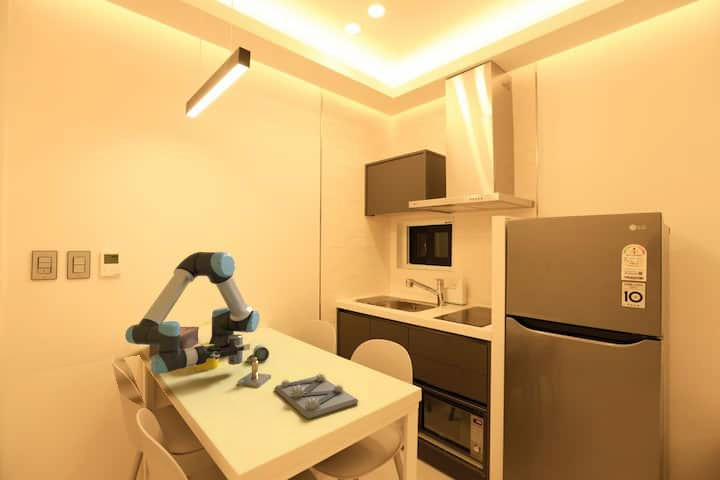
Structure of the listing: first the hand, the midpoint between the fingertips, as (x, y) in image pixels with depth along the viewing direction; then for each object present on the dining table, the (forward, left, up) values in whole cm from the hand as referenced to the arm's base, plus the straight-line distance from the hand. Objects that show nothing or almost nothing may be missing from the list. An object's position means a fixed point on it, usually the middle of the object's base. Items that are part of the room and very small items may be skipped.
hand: (245, 344), depth 158 cm
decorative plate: (+19, +42, -13) cm, 47 cm away
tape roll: (+1, -20, -12) cm, 23 cm away
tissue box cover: (-19, -55, -12) cm, 60 cm away
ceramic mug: (-14, -1, -12) cm, 18 cm away
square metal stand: (+11, +11, -12) cm, 20 cm away
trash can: (+4, -3, -7) cm, 9 cm away
